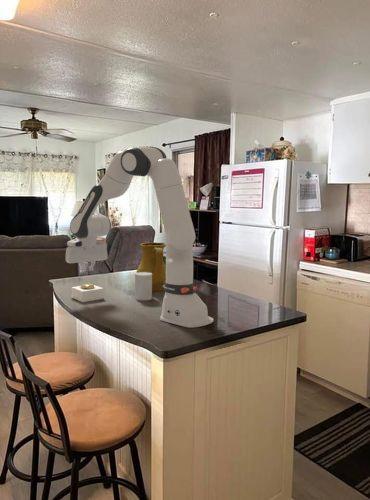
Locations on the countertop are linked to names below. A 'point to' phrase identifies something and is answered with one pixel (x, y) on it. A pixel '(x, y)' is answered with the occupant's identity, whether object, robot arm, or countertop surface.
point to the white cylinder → (143, 286)
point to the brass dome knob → (87, 286)
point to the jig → (87, 293)
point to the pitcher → (153, 263)
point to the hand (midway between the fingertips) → (87, 270)
